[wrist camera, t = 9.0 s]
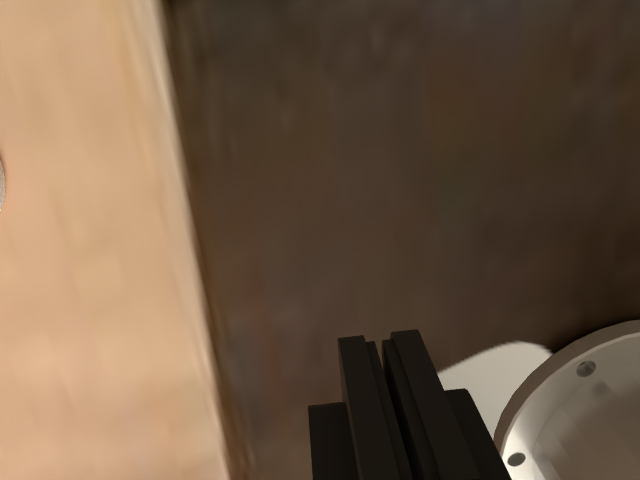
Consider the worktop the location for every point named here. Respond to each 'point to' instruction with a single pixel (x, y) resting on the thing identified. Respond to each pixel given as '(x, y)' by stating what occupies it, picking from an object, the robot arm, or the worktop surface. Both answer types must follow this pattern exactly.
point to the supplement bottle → (2, 186)
